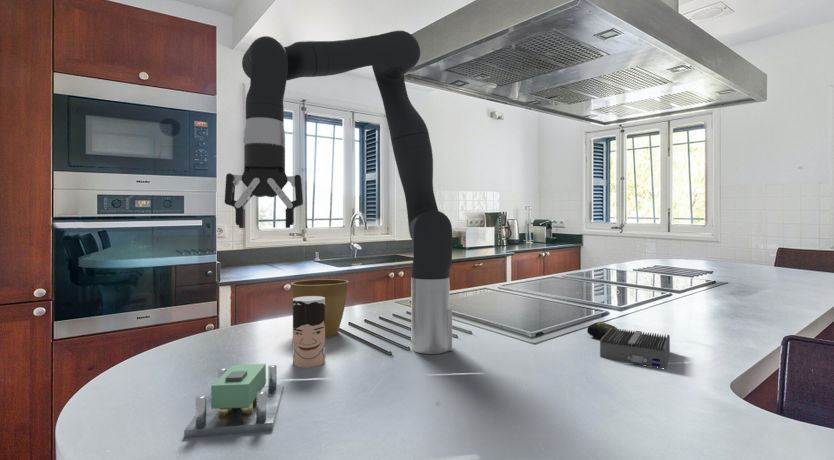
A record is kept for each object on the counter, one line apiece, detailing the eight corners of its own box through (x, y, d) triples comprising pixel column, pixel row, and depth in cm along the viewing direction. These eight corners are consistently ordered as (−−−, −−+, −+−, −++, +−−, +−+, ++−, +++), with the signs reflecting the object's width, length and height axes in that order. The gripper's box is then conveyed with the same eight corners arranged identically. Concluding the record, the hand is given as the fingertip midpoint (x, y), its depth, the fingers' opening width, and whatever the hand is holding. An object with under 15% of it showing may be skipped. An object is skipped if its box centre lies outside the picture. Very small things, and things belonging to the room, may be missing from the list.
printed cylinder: (286, 371, 90) (286, 300, 90) (304, 362, 96) (304, 295, 96) (314, 374, 88) (314, 301, 88) (330, 364, 94) (330, 296, 94)
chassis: (213, 396, 76) (213, 367, 76) (283, 390, 79) (283, 362, 79) (184, 439, 61) (184, 402, 61) (272, 430, 63) (272, 395, 63)
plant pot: (360, 339, 116) (360, 280, 116) (320, 352, 104) (320, 286, 104) (320, 332, 124) (320, 277, 124) (279, 343, 112) (279, 282, 112)
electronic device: (670, 354, 103) (670, 333, 103) (665, 371, 90) (665, 347, 90) (611, 346, 110) (611, 326, 110) (599, 361, 98) (599, 339, 98)
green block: (233, 384, 74) (233, 361, 74) (265, 383, 75) (265, 360, 75) (211, 408, 64) (211, 381, 64) (248, 407, 65) (248, 380, 65)
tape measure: (584, 336, 115) (587, 323, 114) (598, 333, 119) (601, 320, 118) (608, 346, 109) (611, 332, 109) (622, 342, 113) (625, 329, 113)
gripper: (303, 150, 88) (303, 228, 88) (230, 147, 86) (230, 228, 86) (301, 142, 81) (301, 228, 81) (221, 139, 78) (221, 228, 78)
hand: (265, 228), depth 83 cm, fingers open, 8 cm apart
